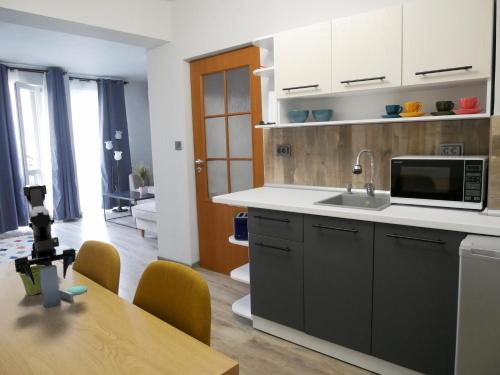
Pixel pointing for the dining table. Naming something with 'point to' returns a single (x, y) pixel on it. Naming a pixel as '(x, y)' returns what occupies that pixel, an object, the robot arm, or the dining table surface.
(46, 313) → the dining table surface
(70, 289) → the coaster
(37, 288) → the plant pot
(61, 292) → the acrylic wall
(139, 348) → the dining table surface
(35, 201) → the robot arm
